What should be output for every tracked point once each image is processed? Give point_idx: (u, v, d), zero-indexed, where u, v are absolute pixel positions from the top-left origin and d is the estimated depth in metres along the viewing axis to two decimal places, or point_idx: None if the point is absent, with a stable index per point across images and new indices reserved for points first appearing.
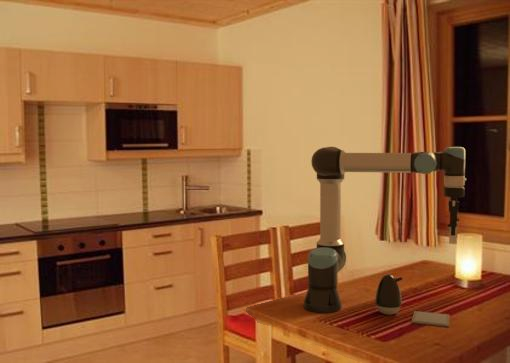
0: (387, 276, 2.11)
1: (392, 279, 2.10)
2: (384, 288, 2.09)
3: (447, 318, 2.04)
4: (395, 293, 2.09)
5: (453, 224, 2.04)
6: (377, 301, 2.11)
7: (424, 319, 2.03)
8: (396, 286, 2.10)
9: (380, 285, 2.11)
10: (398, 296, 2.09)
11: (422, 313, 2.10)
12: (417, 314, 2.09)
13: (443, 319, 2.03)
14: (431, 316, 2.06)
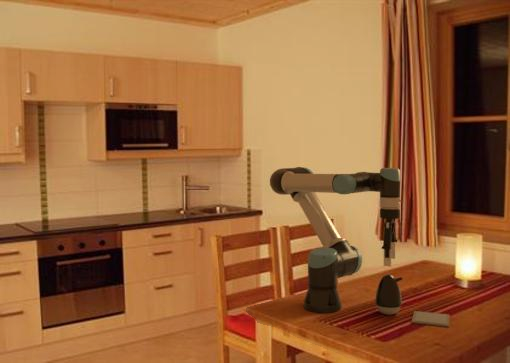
0: (387, 276, 2.11)
1: (392, 279, 2.10)
2: (384, 288, 2.09)
3: (447, 318, 2.04)
4: (395, 293, 2.09)
5: (386, 247, 2.02)
6: (377, 301, 2.11)
7: (424, 319, 2.03)
8: (396, 286, 2.10)
9: (380, 285, 2.11)
10: (398, 296, 2.09)
11: (422, 313, 2.10)
12: (417, 314, 2.09)
13: (443, 319, 2.03)
14: (431, 316, 2.06)
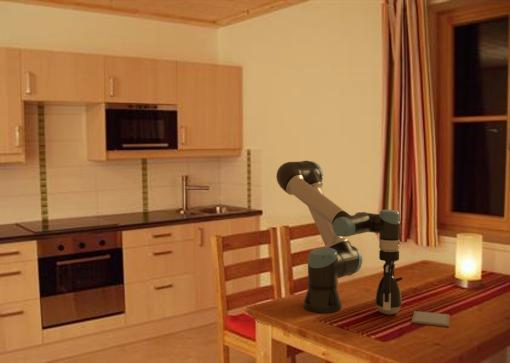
0: None
1: (392, 279, 2.10)
2: None
3: (447, 318, 2.04)
4: (395, 293, 2.09)
5: (386, 292, 2.05)
6: (377, 301, 2.11)
7: (424, 319, 2.03)
8: (396, 286, 2.10)
9: (380, 285, 2.11)
10: (398, 296, 2.09)
11: (422, 313, 2.10)
12: (417, 314, 2.09)
13: (443, 319, 2.03)
14: (431, 316, 2.06)
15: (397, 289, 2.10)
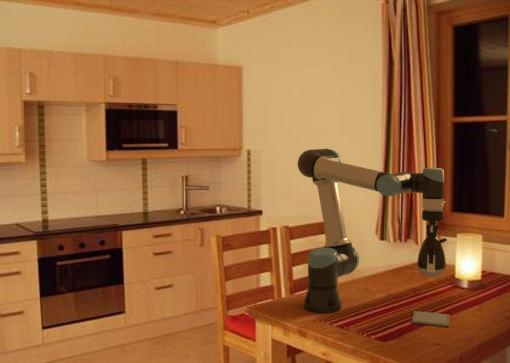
0: None
1: (436, 240, 2.00)
2: None
3: (447, 318, 2.04)
4: (439, 254, 1.99)
5: (431, 252, 1.95)
6: (420, 263, 2.02)
7: (424, 319, 2.03)
8: (440, 247, 2.00)
9: (423, 247, 2.02)
10: (442, 258, 2.00)
11: (422, 313, 2.10)
12: (417, 314, 2.09)
13: (443, 319, 2.03)
14: (431, 316, 2.06)
15: (441, 250, 2.00)
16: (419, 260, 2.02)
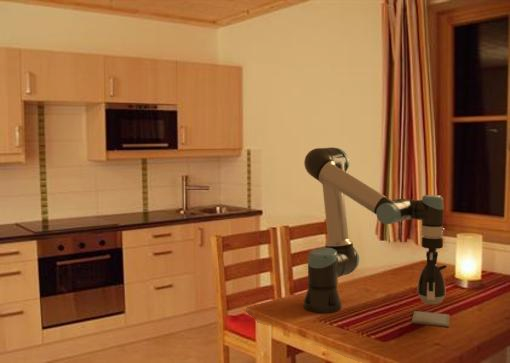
0: None
1: (435, 267, 2.01)
2: None
3: (447, 318, 2.04)
4: (439, 281, 2.00)
5: (430, 280, 1.96)
6: (420, 290, 2.02)
7: (424, 319, 2.03)
8: (440, 274, 2.01)
9: (423, 274, 2.02)
10: (442, 285, 2.00)
11: (422, 313, 2.10)
12: (417, 314, 2.09)
13: (443, 319, 2.03)
14: (431, 316, 2.06)
15: (441, 278, 2.01)
16: (419, 287, 2.03)
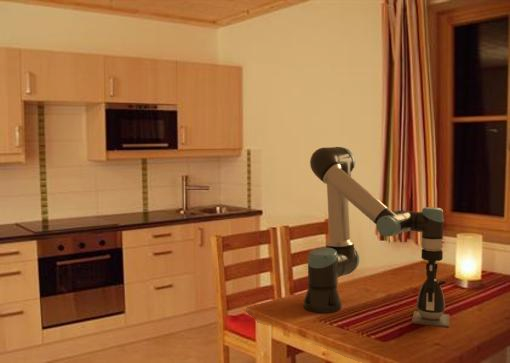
0: None
1: (435, 283, 2.02)
2: None
3: (447, 318, 2.04)
4: (439, 297, 2.00)
5: (430, 291, 1.95)
6: (419, 305, 2.03)
7: (424, 319, 2.03)
8: (440, 290, 2.01)
9: (423, 289, 2.03)
10: (442, 301, 2.01)
11: None
12: (417, 314, 2.09)
13: (443, 319, 2.03)
14: None
15: (441, 293, 2.01)
16: (418, 302, 2.04)
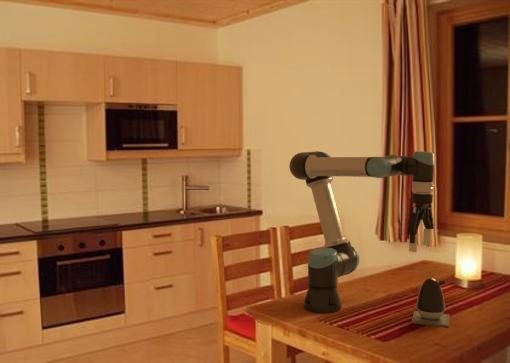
0: (430, 280, 2.03)
1: (435, 283, 2.02)
2: (427, 292, 2.01)
3: (447, 318, 2.04)
4: (438, 297, 2.00)
5: (410, 231, 1.97)
6: (419, 306, 2.03)
7: (424, 319, 2.03)
8: (439, 290, 2.01)
9: (422, 289, 2.03)
10: (442, 300, 2.01)
11: None
12: (417, 314, 2.09)
13: (443, 319, 2.03)
14: None
15: (440, 293, 2.01)
16: (418, 302, 2.04)
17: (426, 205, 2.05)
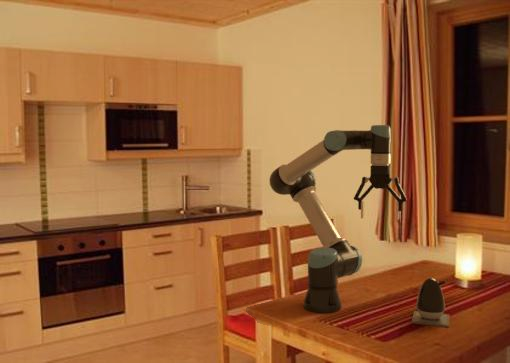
0: (430, 280, 2.03)
1: (435, 283, 2.02)
2: (427, 292, 2.01)
3: (447, 318, 2.04)
4: (438, 297, 2.00)
5: (354, 198, 2.17)
6: (419, 306, 2.03)
7: (424, 319, 2.03)
8: (439, 290, 2.01)
9: (422, 289, 2.03)
10: (442, 300, 2.01)
11: None
12: (417, 314, 2.09)
13: (443, 319, 2.03)
14: None
15: (440, 293, 2.01)
16: (418, 302, 2.04)
17: (384, 177, 2.11)
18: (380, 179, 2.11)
